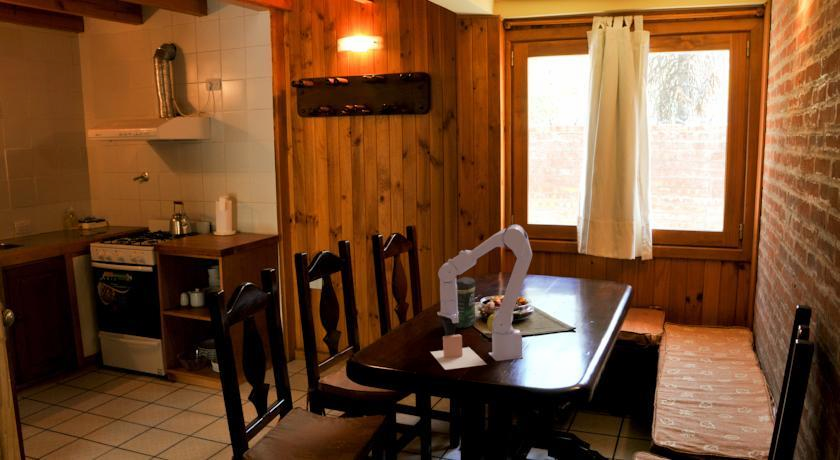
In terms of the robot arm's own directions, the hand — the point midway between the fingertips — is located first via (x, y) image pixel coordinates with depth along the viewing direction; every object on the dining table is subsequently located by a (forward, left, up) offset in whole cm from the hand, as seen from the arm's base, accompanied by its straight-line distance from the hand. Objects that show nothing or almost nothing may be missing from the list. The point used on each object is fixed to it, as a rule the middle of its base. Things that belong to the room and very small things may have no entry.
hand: (450, 338), depth 226 cm
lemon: (-22, -16, -6) cm, 28 cm away
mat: (-1, +5, -6) cm, 8 cm away
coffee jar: (-15, -31, -6) cm, 35 cm away
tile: (0, +3, -6) cm, 6 cm away
